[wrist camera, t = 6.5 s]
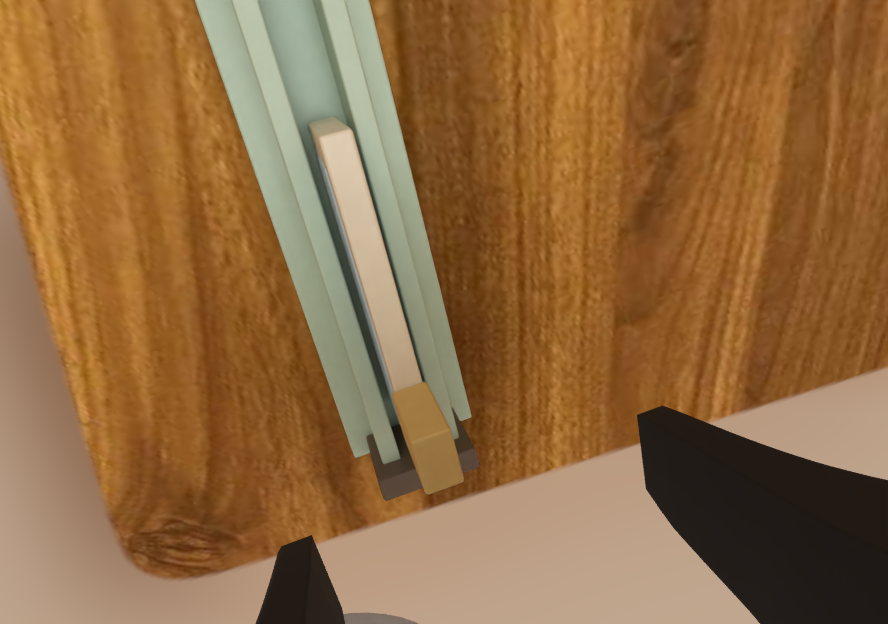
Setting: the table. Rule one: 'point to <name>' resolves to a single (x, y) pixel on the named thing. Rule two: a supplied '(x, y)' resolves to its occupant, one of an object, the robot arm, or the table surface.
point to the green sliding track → (310, 214)
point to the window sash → (383, 306)
